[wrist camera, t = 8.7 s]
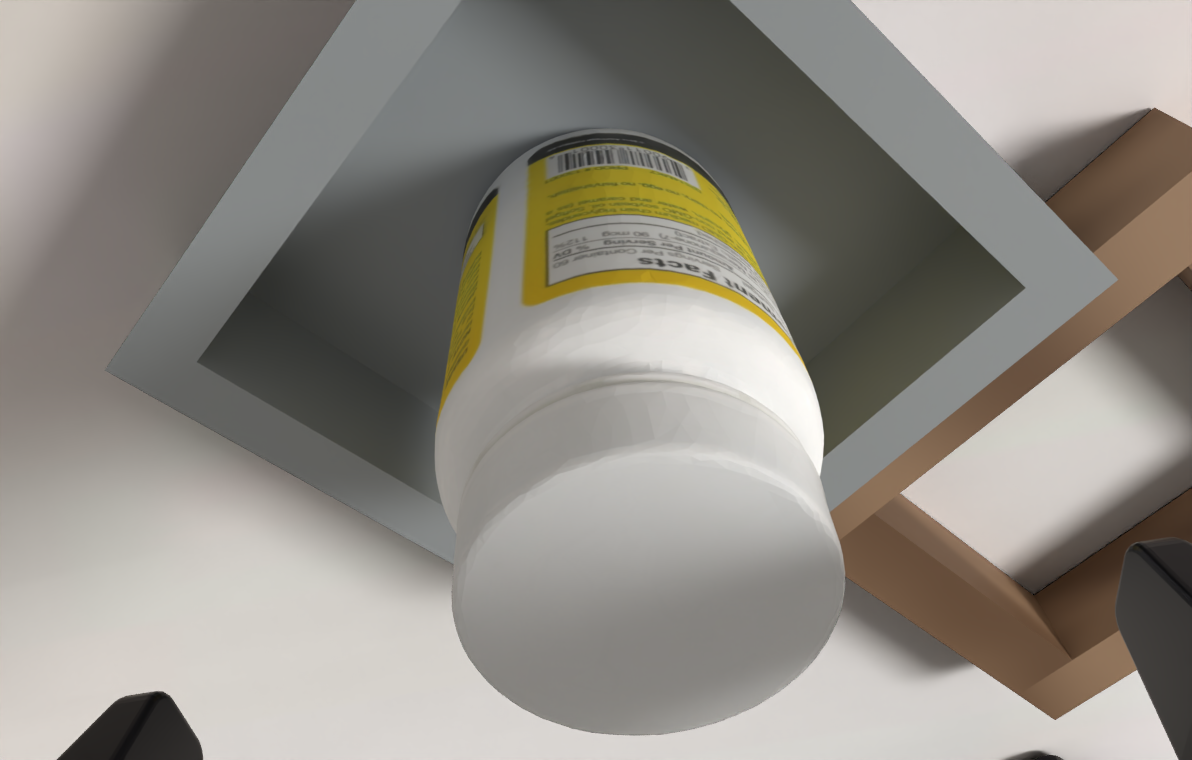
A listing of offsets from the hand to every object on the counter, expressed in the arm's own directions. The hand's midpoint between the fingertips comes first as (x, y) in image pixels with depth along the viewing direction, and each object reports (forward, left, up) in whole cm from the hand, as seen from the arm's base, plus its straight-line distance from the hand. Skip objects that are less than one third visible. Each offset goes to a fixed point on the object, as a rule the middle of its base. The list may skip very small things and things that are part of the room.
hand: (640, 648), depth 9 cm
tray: (0, 0, -10) cm, 10 cm away
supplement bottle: (0, 0, -9) cm, 9 cm away
